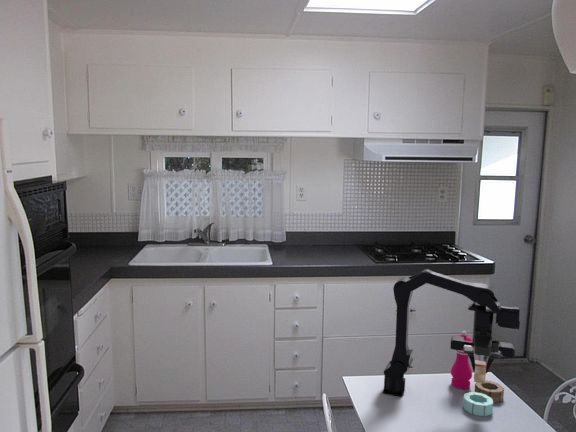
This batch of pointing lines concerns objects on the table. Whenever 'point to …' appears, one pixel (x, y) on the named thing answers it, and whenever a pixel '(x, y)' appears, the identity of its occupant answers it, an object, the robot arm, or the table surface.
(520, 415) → the table surface
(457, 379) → the pepper mill
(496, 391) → the brown segmented ring
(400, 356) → the robot arm
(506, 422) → the table surface
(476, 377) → the pink two-tone square block
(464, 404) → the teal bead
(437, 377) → the table surface
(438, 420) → the table surface
